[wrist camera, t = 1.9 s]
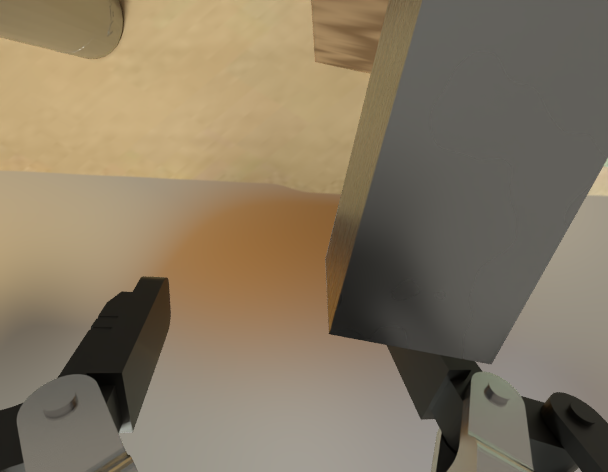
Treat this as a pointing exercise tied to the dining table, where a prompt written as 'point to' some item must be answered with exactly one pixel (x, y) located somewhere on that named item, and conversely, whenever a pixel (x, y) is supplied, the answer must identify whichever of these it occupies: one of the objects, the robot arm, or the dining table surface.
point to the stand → (347, 32)
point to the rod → (466, 169)
